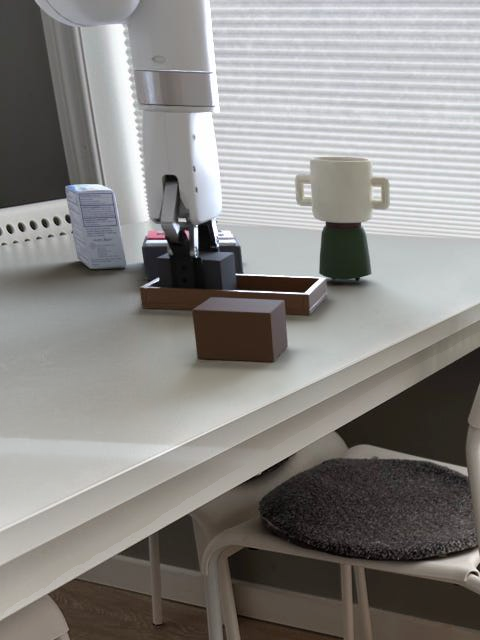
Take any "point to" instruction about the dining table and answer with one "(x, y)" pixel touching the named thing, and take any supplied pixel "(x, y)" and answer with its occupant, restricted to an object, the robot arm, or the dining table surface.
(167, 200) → the robot arm
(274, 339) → the pad
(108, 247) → the medicine box
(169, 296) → the tray
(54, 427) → the dining table surface
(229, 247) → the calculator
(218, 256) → the pad
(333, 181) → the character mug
